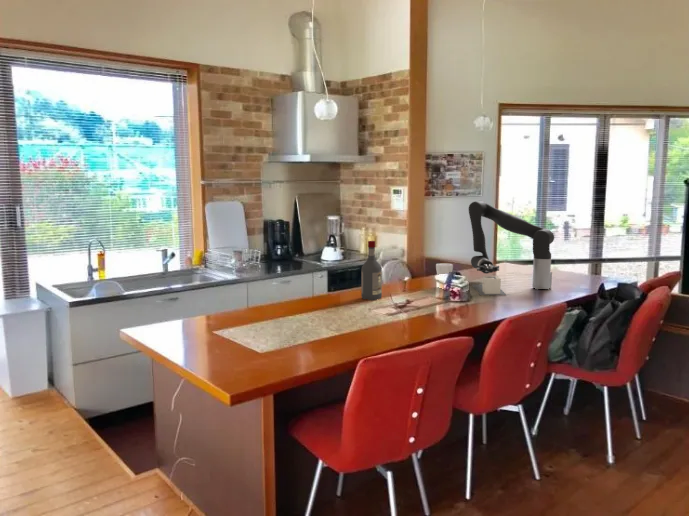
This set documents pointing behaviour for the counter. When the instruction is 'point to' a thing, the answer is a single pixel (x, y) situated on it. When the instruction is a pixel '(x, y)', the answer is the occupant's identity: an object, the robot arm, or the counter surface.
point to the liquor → (371, 276)
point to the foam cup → (443, 268)
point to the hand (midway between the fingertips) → (491, 270)
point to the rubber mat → (479, 290)
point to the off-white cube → (491, 284)
